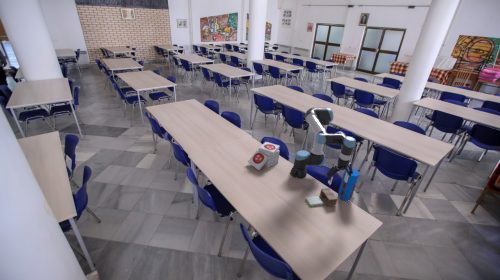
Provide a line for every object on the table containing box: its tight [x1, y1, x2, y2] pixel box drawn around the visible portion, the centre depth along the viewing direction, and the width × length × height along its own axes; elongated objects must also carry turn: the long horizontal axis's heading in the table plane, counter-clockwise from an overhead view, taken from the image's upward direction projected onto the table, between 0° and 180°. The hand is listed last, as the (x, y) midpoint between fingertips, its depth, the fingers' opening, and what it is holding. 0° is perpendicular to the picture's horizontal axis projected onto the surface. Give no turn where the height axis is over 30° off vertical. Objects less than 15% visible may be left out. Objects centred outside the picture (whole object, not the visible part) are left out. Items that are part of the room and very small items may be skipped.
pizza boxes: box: [247, 141, 281, 171], centre depth 231 cm, size 19×30×18 cm, turn 130°
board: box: [305, 195, 324, 207], centre depth 190 cm, size 8×11×2 cm
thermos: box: [337, 167, 360, 202], centre depth 193 cm, size 11×11×25 cm
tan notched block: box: [319, 187, 338, 207], centre depth 192 cm, size 13×7×7 cm, turn 14°
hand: (337, 182), depth 174 cm, fingers open, 13 cm apart
